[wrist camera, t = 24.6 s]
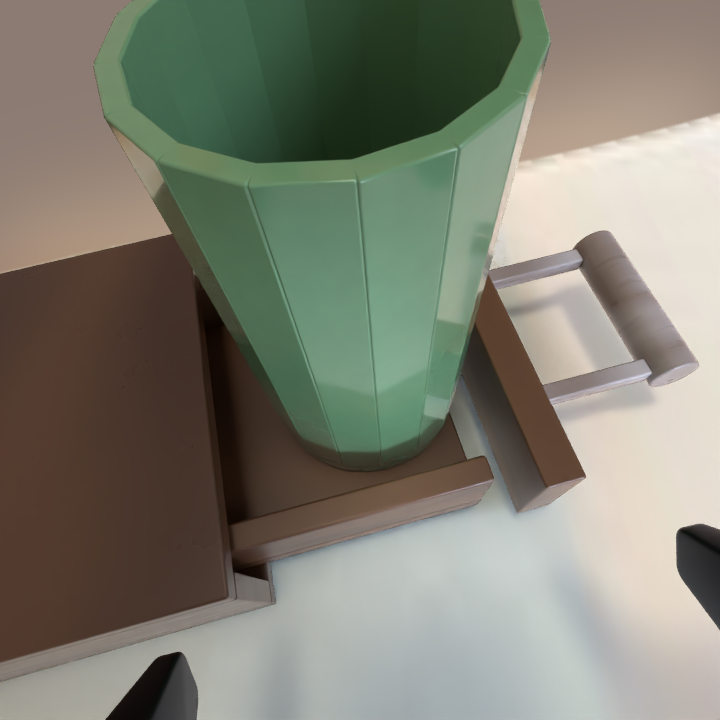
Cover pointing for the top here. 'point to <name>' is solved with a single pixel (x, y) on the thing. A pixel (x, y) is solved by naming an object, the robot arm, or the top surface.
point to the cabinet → (109, 460)
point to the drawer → (445, 453)
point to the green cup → (333, 189)
